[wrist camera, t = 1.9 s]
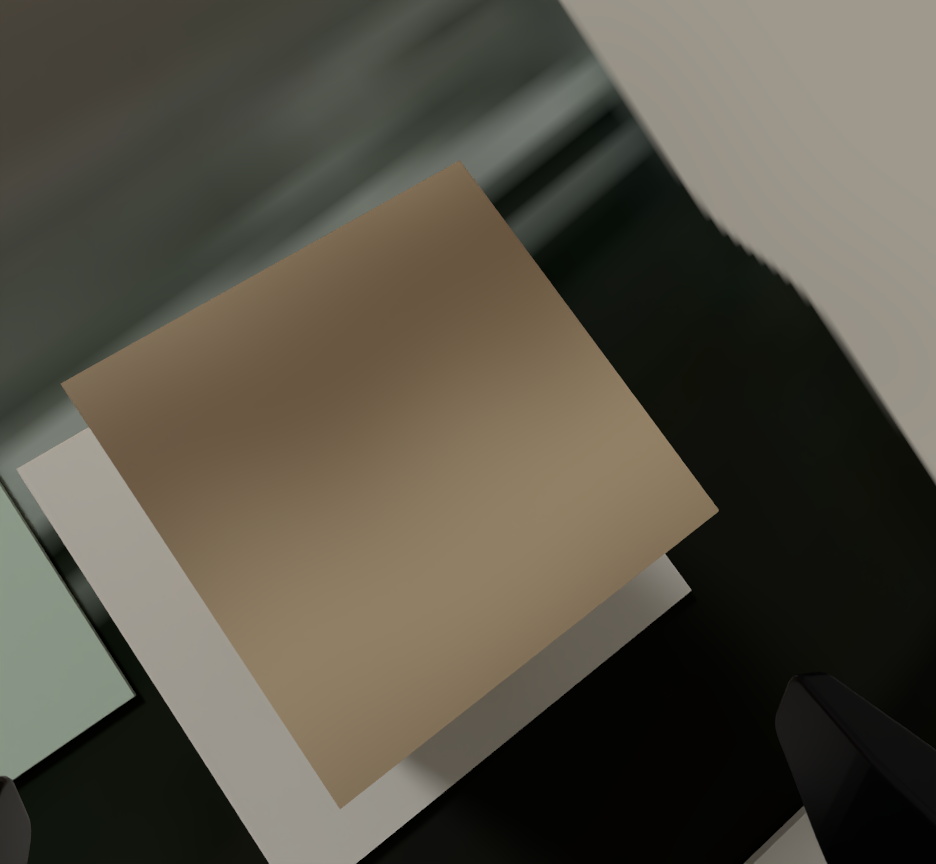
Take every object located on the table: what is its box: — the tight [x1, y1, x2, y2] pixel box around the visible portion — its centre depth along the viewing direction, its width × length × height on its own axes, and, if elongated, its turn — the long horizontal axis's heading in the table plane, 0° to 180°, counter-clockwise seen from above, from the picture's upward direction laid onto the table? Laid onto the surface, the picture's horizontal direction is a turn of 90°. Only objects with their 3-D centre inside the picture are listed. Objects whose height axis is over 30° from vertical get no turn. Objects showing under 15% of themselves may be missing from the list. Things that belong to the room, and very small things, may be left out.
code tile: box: [16, 427, 691, 864], centre depth 20 cm, size 12×12×1 cm
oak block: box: [61, 161, 719, 809], centre depth 15 cm, size 6×6×10 cm
